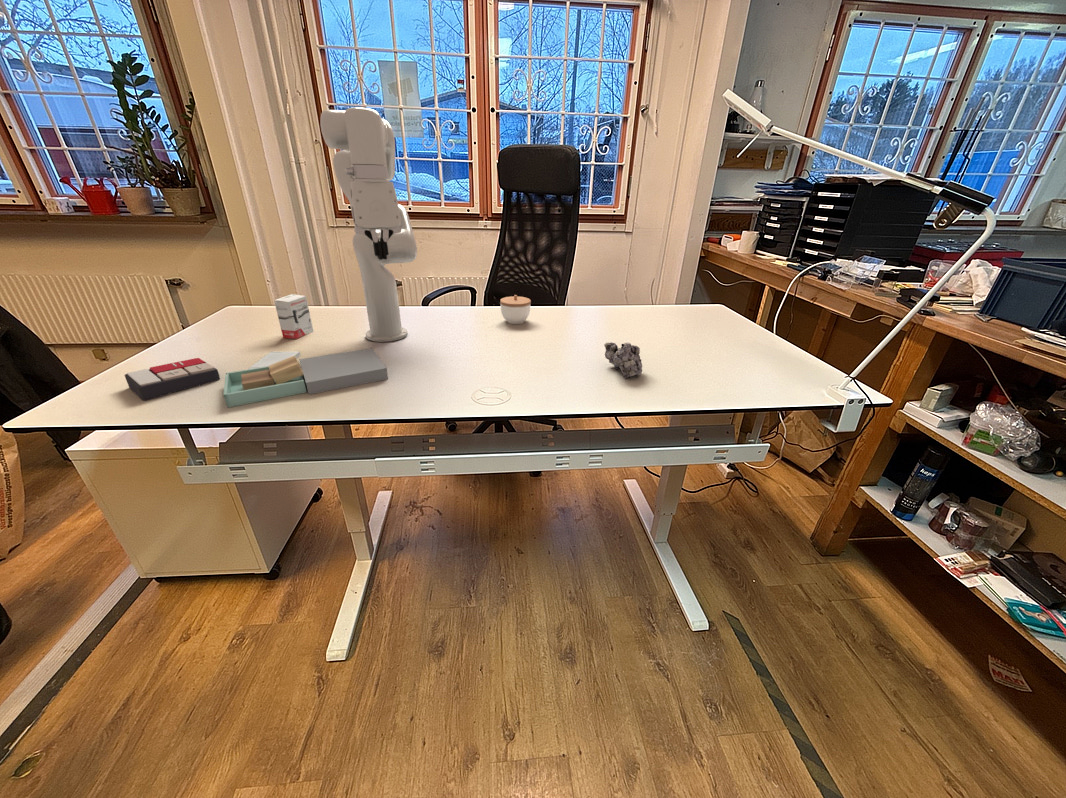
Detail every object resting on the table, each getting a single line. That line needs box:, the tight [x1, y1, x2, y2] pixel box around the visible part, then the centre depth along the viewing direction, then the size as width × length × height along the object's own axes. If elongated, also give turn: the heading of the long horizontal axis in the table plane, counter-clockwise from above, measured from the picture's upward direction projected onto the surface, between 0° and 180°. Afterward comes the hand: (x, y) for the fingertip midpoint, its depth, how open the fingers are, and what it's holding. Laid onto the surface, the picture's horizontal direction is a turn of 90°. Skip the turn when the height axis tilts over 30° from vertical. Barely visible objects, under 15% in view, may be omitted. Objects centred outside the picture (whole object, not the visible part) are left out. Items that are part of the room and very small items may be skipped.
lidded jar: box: [499, 294, 532, 325], centre depth 149 cm, size 11×11×9 cm
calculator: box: [124, 357, 221, 402], centre depth 100 cm, size 11×4×15 cm
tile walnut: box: [241, 370, 275, 390], centre depth 98 cm, size 6×6×3 cm
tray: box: [222, 366, 308, 408], centre depth 99 cm, size 13×15×3 cm
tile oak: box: [269, 356, 304, 384], centre depth 100 cm, size 6×6×3 cm
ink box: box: [274, 293, 314, 340], centre depth 131 cm, size 8×5×12 cm, turn 169°
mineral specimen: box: [603, 341, 643, 380], centre depth 111 cm, size 12×9×10 cm
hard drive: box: [246, 350, 302, 370], centre depth 113 cm, size 2×8×12 cm
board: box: [298, 347, 389, 395], centre depth 107 cm, size 16×18×3 cm
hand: (382, 258), depth 104 cm, fingers closed
